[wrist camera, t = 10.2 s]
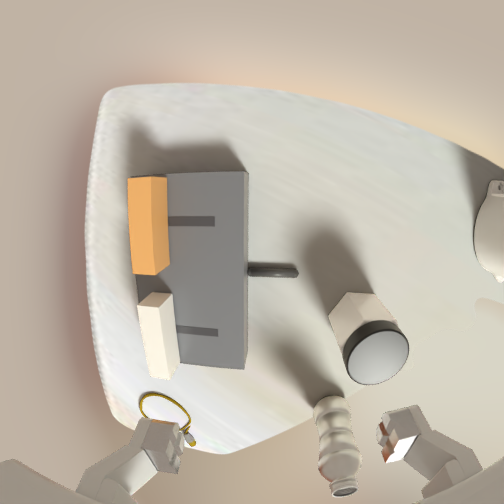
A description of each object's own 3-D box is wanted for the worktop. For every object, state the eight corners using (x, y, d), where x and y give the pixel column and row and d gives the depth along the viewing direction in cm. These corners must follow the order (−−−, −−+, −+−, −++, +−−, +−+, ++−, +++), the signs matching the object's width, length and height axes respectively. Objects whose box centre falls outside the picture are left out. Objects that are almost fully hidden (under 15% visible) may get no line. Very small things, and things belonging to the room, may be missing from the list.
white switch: (172, 293, 36) (158, 307, 31) (180, 361, 38) (170, 380, 34) (152, 292, 36) (137, 305, 31) (161, 358, 38) (150, 376, 34)
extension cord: (147, 432, 51) (144, 437, 49) (136, 385, 48) (133, 391, 46) (197, 444, 51) (195, 450, 49) (194, 399, 47) (191, 405, 45)
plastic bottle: (345, 413, 44) (363, 496, 25) (310, 416, 45) (317, 503, 26) (350, 389, 43) (374, 477, 23) (313, 392, 44) (323, 485, 24)
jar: (355, 348, 41) (375, 396, 29) (317, 325, 41) (329, 372, 29) (391, 306, 39) (423, 344, 27) (354, 279, 38) (382, 314, 27)
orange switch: (167, 177, 32) (150, 176, 28) (169, 264, 35) (155, 275, 30) (145, 179, 33) (127, 178, 28) (149, 263, 35) (132, 273, 31)
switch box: (301, 174, 36) (305, 172, 31) (292, 353, 42) (293, 371, 37) (143, 177, 38) (126, 176, 33) (157, 342, 44) (145, 357, 39)
